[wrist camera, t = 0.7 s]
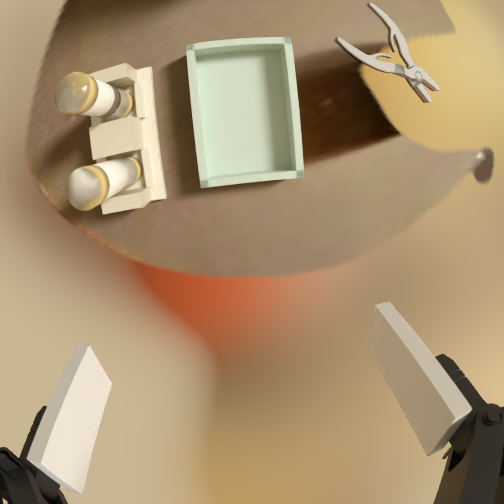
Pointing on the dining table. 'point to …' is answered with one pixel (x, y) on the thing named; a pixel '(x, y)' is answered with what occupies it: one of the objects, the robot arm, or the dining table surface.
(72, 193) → the fuse
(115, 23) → the dining table surface
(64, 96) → the fuse
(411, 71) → the pliers
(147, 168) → the fuse holder
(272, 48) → the parts tray
